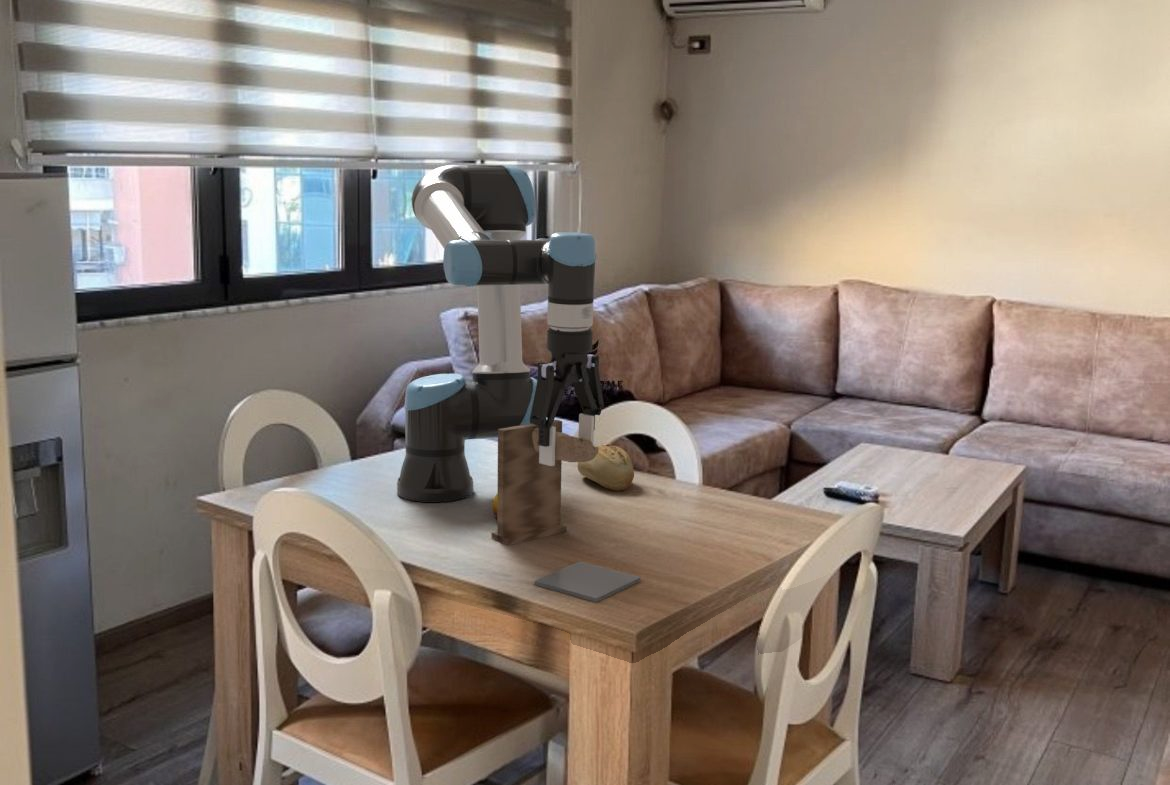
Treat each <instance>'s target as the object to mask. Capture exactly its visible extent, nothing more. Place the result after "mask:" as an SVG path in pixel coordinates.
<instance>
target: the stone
mask: <svg viewBox="0 0 1170 785" xmlns="http://www.w3.org/2000/svg"><path fill="white" fill-rule="evenodd" d="M538 437H539V429H538V428H535V430H534V431H533V433H532V438H533V444H534V447H535V450H536V451H537V452H539V443H538ZM578 437H579V436H578ZM578 437H577V436H572V435H569V434H568V433H566V432H562V433H561V432H556V434H555V459H557V460H562V462H567V463H578V462H588V461H590V460H592V459H594V458H595V457H596V455H597V454H598V447H597V446H595V445H593V444H592V442H591V440H589V439H588V438H578Z"/></svg>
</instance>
